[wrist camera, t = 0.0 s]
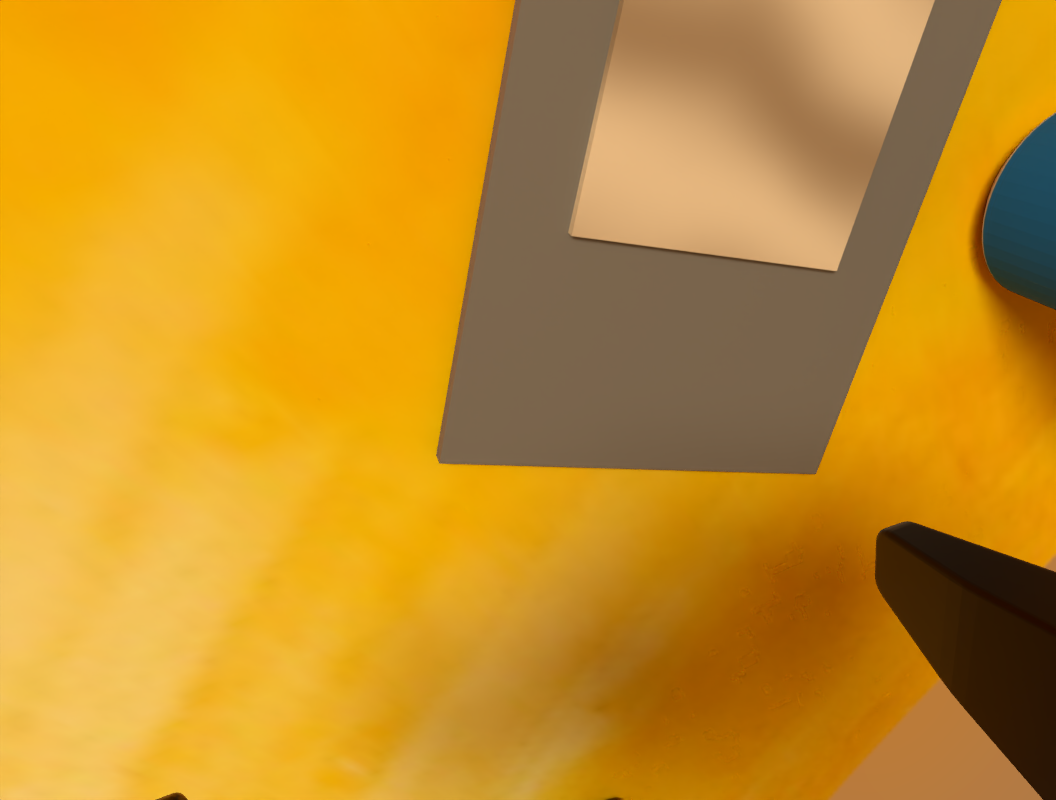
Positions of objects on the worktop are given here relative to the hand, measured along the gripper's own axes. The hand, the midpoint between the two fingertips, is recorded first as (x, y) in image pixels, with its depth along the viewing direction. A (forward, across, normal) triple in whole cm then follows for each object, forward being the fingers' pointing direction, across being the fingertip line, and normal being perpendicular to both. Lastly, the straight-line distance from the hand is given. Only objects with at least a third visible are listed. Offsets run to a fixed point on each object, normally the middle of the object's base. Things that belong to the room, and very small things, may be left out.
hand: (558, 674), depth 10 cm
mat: (+15, -11, -3) cm, 19 cm away
